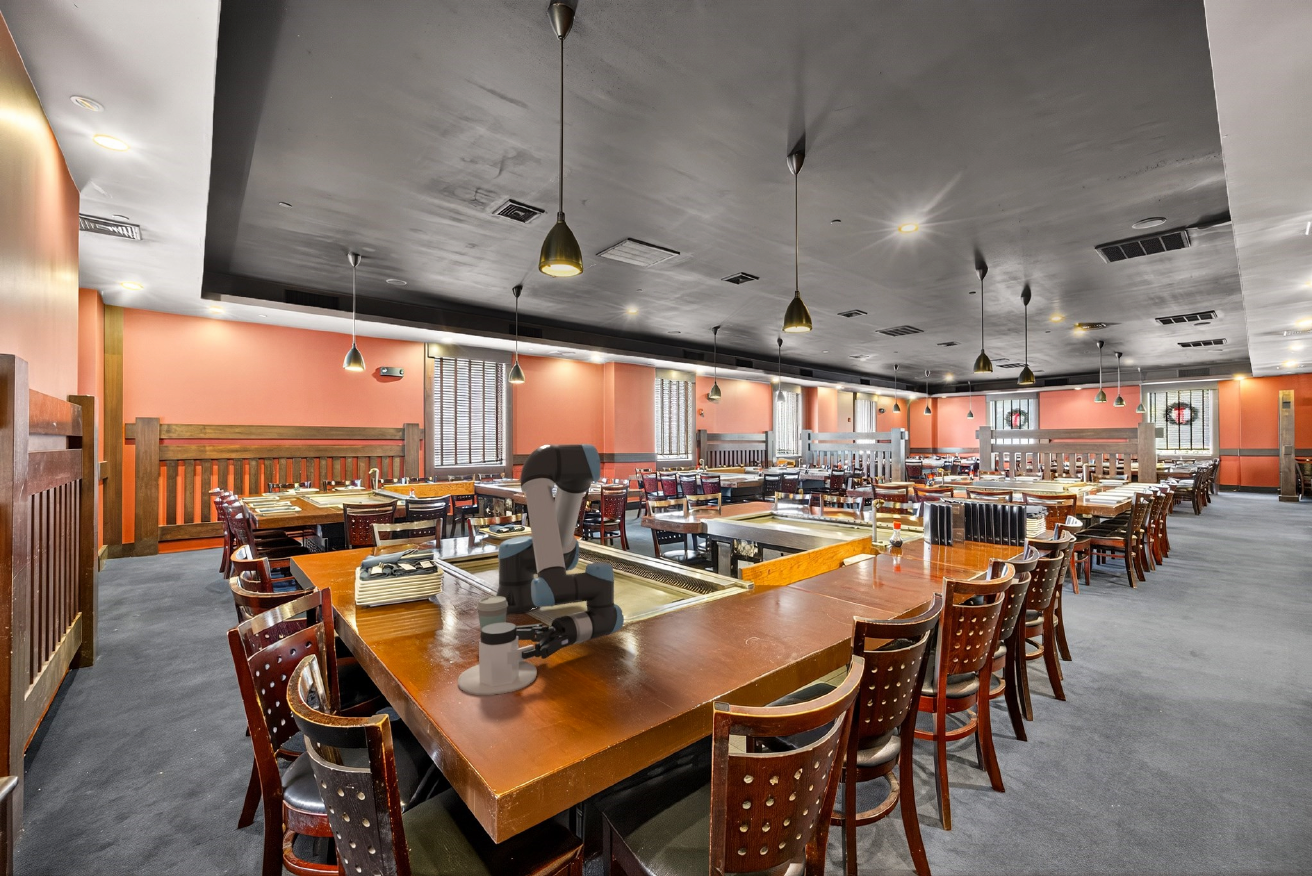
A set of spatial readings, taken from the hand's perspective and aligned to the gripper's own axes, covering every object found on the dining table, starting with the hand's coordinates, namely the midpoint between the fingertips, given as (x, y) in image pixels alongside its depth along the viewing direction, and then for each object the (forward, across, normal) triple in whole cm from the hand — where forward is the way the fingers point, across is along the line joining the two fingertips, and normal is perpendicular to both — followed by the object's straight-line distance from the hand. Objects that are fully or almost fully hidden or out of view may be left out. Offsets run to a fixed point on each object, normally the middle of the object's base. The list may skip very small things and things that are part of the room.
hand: (494, 650), depth 135 cm
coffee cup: (-11, +24, -7) cm, 28 cm away
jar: (0, -3, -6) cm, 7 cm away
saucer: (-1, 0, -7) cm, 7 cm away
